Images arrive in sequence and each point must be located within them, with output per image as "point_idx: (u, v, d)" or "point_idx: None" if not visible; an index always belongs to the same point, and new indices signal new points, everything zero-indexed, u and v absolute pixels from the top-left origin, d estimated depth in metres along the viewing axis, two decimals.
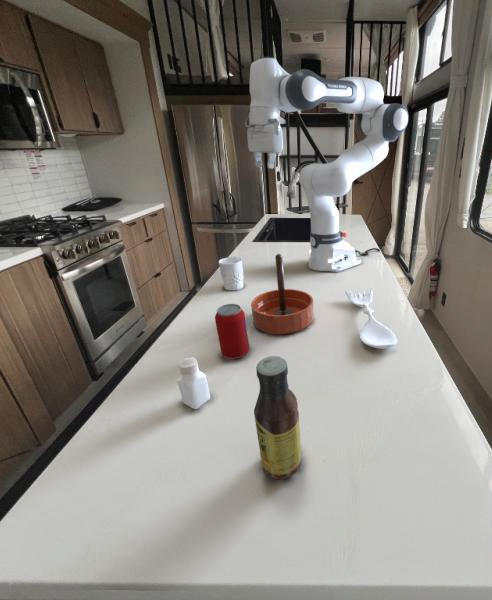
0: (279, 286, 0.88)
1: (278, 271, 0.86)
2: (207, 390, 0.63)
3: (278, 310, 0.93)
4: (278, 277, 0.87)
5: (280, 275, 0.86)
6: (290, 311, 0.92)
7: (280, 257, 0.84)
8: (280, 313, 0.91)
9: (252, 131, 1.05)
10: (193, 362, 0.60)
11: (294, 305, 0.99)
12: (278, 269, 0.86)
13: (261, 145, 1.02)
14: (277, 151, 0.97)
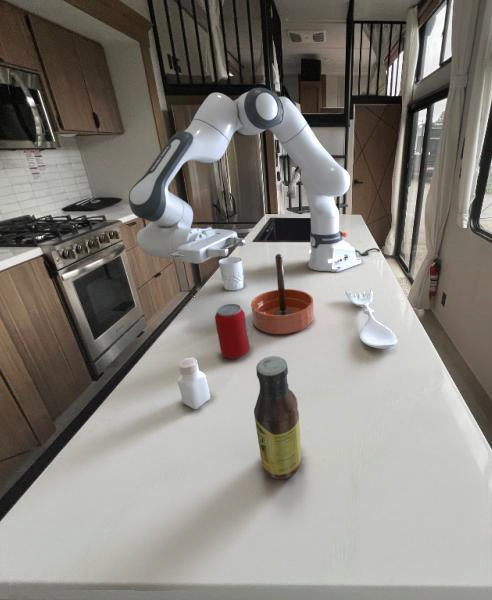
0: (279, 286, 0.88)
1: (278, 271, 0.86)
2: (207, 390, 0.63)
3: (278, 310, 0.93)
4: (278, 277, 0.87)
5: (280, 275, 0.86)
6: (290, 311, 0.92)
7: (280, 257, 0.84)
8: (280, 313, 0.91)
9: None
10: (193, 362, 0.60)
11: (294, 305, 0.99)
12: (278, 269, 0.86)
13: None
14: (198, 256, 0.80)
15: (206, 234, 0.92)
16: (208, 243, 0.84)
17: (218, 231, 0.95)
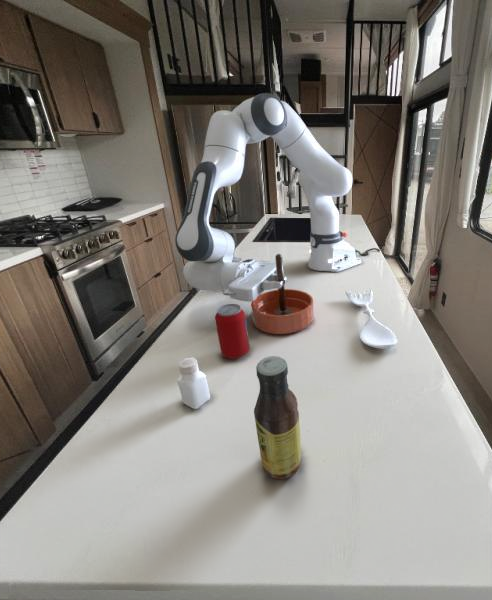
0: None
1: (278, 271, 0.86)
2: (207, 390, 0.63)
3: (278, 310, 0.93)
4: (278, 277, 0.87)
5: (280, 275, 0.86)
6: (290, 311, 0.92)
7: (280, 257, 0.84)
8: (280, 313, 0.91)
9: None
10: (193, 362, 0.60)
11: (294, 305, 0.99)
12: (278, 269, 0.86)
13: None
14: (251, 295, 0.81)
15: (252, 268, 0.92)
16: (258, 280, 0.85)
17: (262, 263, 0.96)
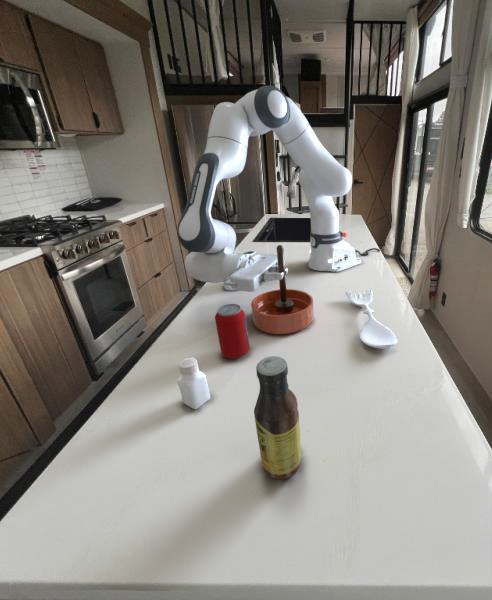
0: None
1: (279, 262, 0.86)
2: (207, 390, 0.63)
3: (279, 301, 0.93)
4: (279, 268, 0.87)
5: (281, 266, 0.87)
6: (291, 302, 0.92)
7: (281, 248, 0.85)
8: (281, 305, 0.91)
9: None
10: (193, 362, 0.60)
11: (294, 305, 0.99)
12: (279, 260, 0.86)
13: None
14: (252, 285, 0.81)
15: (253, 259, 0.93)
16: (259, 270, 0.86)
17: (263, 255, 0.97)
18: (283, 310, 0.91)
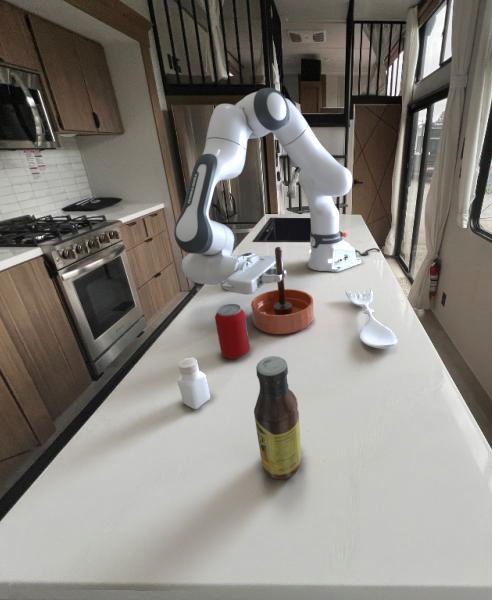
0: None
1: (277, 264, 0.85)
2: (207, 390, 0.63)
3: (277, 303, 0.92)
4: (277, 270, 0.86)
5: (280, 268, 0.85)
6: (290, 305, 0.91)
7: (279, 250, 0.84)
8: (279, 307, 0.90)
9: None
10: (193, 362, 0.60)
11: (294, 305, 0.99)
12: (277, 262, 0.85)
13: None
14: (250, 288, 0.80)
15: (251, 261, 0.92)
16: (257, 273, 0.84)
17: (261, 257, 0.95)
18: (282, 313, 0.89)
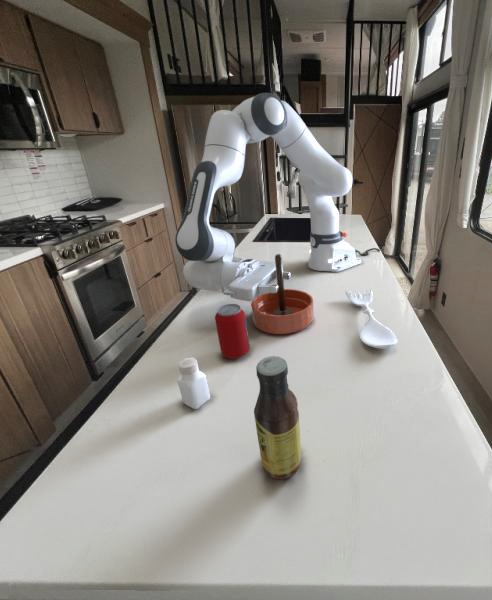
0: (279, 286, 0.88)
1: (278, 271, 0.86)
2: (207, 390, 0.63)
3: (278, 310, 0.93)
4: (278, 277, 0.87)
5: (280, 275, 0.86)
6: (290, 311, 0.92)
7: (280, 257, 0.84)
8: (279, 314, 0.91)
9: None
10: (193, 362, 0.60)
11: (294, 305, 0.99)
12: (278, 269, 0.86)
13: None
14: (251, 294, 0.81)
15: (252, 267, 0.92)
16: (258, 279, 0.85)
17: (262, 263, 0.96)
18: None
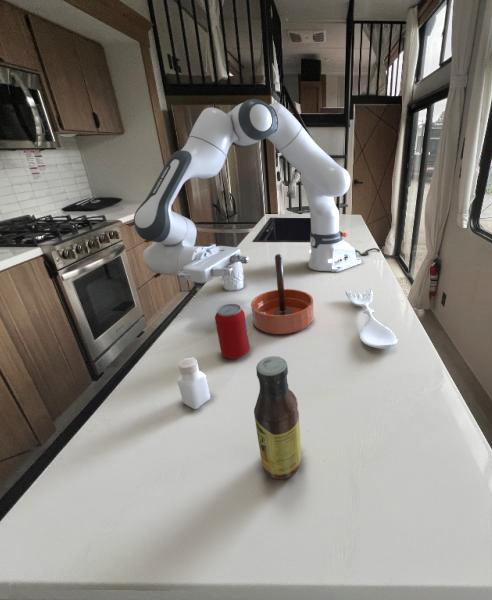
0: (279, 286, 0.88)
1: (278, 271, 0.86)
2: (207, 390, 0.63)
3: (278, 310, 0.93)
4: (278, 277, 0.87)
5: (280, 275, 0.86)
6: (290, 311, 0.92)
7: (280, 257, 0.84)
8: (279, 314, 0.91)
9: None
10: (193, 362, 0.60)
11: (294, 305, 0.99)
12: (278, 269, 0.86)
13: None
14: (204, 276, 0.82)
15: (210, 252, 0.94)
16: (213, 262, 0.87)
17: (222, 248, 0.98)
18: None
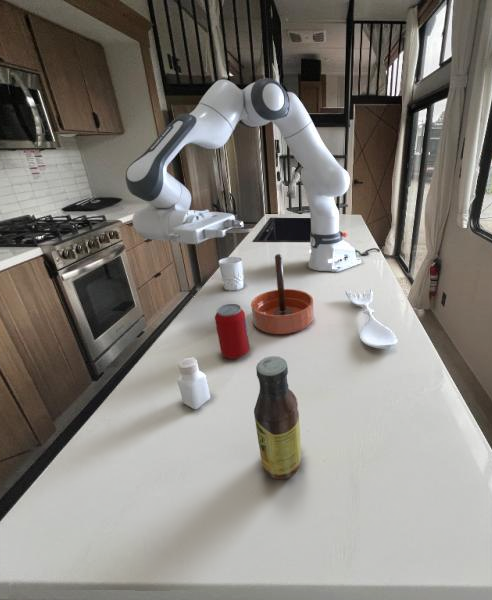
0: (279, 286, 0.88)
1: (278, 271, 0.86)
2: (207, 390, 0.63)
3: (278, 310, 0.93)
4: (278, 277, 0.87)
5: (280, 275, 0.86)
6: (290, 311, 0.92)
7: (280, 257, 0.84)
8: (279, 314, 0.91)
9: None
10: (193, 362, 0.60)
11: (294, 305, 0.99)
12: (278, 269, 0.86)
13: None
14: (195, 237, 0.78)
15: (203, 216, 0.90)
16: (205, 224, 0.82)
17: (215, 214, 0.93)
18: None
